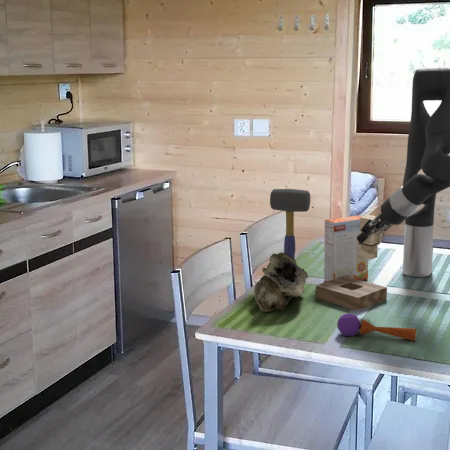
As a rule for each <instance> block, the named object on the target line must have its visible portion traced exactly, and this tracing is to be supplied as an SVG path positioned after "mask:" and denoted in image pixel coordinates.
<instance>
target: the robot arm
mask: <svg viewBox="0 0 450 450" xmlns="http://www.w3.org/2000/svg"><path fill="white" fill-rule="evenodd" d="M424 101H425V102H427V101H440V104H439V105H438V107H437V108H436V110H435V111H434V112H433V113H432V114H431V115H430V114H429V112H428V110H427V108H426V106H425V103H424ZM410 112H411V113H410V120H409V121H410V122H409V129H408V136H407V147H406V148H407V149H406V150H407V151H406V163H405V168H404V169H405V170H404V175H403V180H402V186H401V187H399V188H398V189H396V190H395V192H394V193H392V194H391V195H390V196H389V197H388V198H387V199H386V200H385V201H383V203H382V204H381V205H380V213H378V214H377V215H376V217H375V219H373V220H372V221H371V220H368V221H367V223H366V224H365V225H364V226H363V228H362V229H361V232H362V233H361V234H360V235H359V236H358V237H357V240H358V242H359V243H363V242H364V241H365V240H366V239H367V238H368V237H370V236H371V235H372V234H373V233H378V232H379V231H380V234H382V233H383V232H386V231H388V229H390V228H392V227H393V226H398V225H401V224H403V222H404V235H403V236H404V237H403V255H402V258H403V260H402V274H403V275H405V276H408V277H413V278H425V277H429V276H431V273H432V271H433V257H434V255H433V254H434V245H433V242H434V239H433V237H434V224H435V223H434V221H435V208H436V198H437V193H440V192H442V191H444V190H447V189H448V188H450V155H449V154H450V68H448V67H421V68H420V67H419V68H417V69H416V71H415V72H414V75H413V78H412V89H411V111H410ZM420 171H422V172H423V174H422V173H421V174H420V173H419V172H420ZM421 205H424V206H422V207H421ZM419 207H421V208H420V209H418V208H419ZM375 227H376V228H377V230H376V229H375Z"/></svg>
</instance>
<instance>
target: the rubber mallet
mask: <svg viewBox="0 0 450 450" xmlns="http://www.w3.org/2000/svg"><path fill="white" fill-rule="evenodd" d="M269 195H270V196H269V205H270V208H271V209H272V210H274V211H279V212H281V211H282V212H286V215H285V216H286V218H285V236H284V242H283V243H284V244H283V253H286V254H288V255H289V256H291V257H292V258H293V259H295V255H296V237H295V232H294V231H295V221H294V219H295V216H294V215H295V213H294V212H299V213H301V212H302V213H304V212H308V211H309V210H310V206H311V193H310V191H308V190H306V189H305V190H303V189H297V188H274V189H272V190H271V192H270V194H269ZM291 266H292V265H291Z"/></svg>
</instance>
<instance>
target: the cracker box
mask: <svg viewBox="0 0 450 450" xmlns="http://www.w3.org/2000/svg"><path fill="white" fill-rule="evenodd" d="M360 217H363V215H361V214H360V215H359V214H358V215H351V216H344V217H336V218H330V219H329V218H327V219H325V220H324V242H323V243H324V255H323V257H324V259H323V260H324V262H323V265H324V266H323V272H324V273H323V276H324V277H323V278H324V279H323V281H324V282H328V281H331V280H334V279H337V278H340V277H343V276H347V277H350V278H354V279H358V280H362V281H364V280H365V281H366V280H368V279H369V259H366V258H361V245H360V244H359V242H358V240H357V237H358V236H359V233H360Z"/></svg>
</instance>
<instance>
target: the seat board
mask: <svg viewBox="0 0 450 450" xmlns="http://www.w3.org/2000/svg"><path fill="white" fill-rule="evenodd" d="M387 296H388V287H387V286H384V285H380V284H376V283H372V282H368V281H366V280H365V281H364V280H358V279H354V278H350V277H347V276H343V277H340V278H337V279H334V280H331V281H328V282H326V281H324V282H321V283H319V284H315V298H316V299H317V300H321V301H324V302H328V303H331V304H334V305H337V306H340V307H344V308H347V309H350V310H353V311H357V312H358V311H362V310H364V309H367V308H369V307H372V306H375V305H377V304H380V303H383V302H385V301H387Z"/></svg>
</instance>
